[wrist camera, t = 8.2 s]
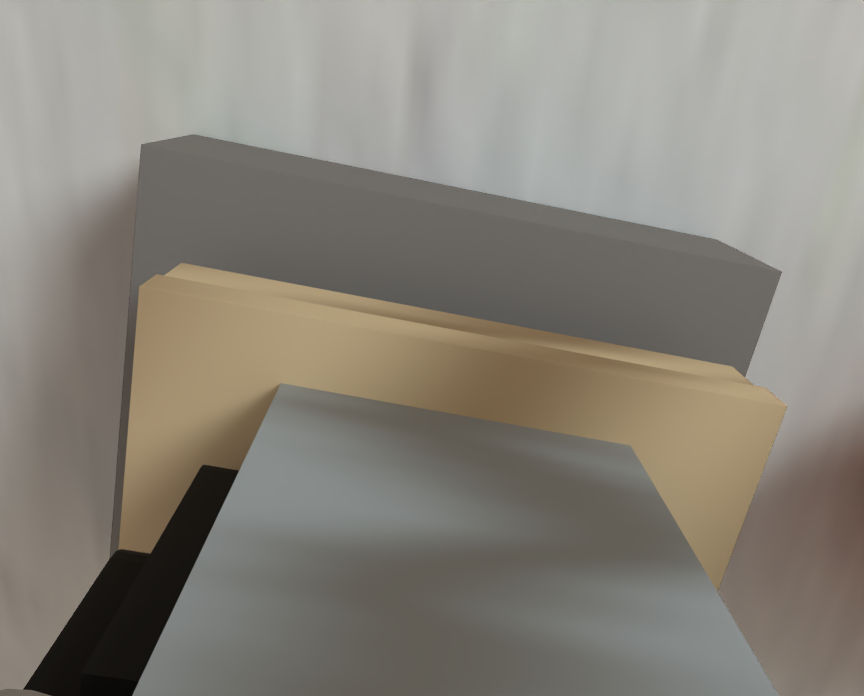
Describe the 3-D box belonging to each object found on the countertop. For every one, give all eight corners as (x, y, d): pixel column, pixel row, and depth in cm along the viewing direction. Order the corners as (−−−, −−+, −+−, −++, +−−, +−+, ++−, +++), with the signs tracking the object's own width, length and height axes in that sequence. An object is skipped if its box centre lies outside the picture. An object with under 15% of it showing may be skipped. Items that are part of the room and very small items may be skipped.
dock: (717, 239, 16) (781, 271, 13) (586, 646, 19) (616, 742, 16) (192, 134, 15) (140, 144, 12) (150, 579, 18) (101, 667, 16)
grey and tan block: (734, 360, 12) (1213, 773, 5) (617, 696, 15) (827, 1337, 7) (182, 256, 12) (-242, 550, 4) (146, 625, 14) (-174, 1251, 6)
